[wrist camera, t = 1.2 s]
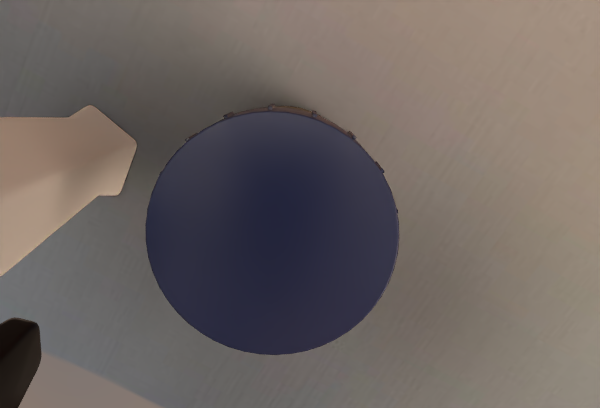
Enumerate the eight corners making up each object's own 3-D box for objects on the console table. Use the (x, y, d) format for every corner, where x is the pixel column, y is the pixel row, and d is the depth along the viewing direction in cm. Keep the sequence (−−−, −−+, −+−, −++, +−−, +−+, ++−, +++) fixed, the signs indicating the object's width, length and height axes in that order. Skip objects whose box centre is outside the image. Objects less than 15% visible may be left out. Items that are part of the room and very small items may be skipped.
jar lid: (319, 362, 17) (321, 396, 15) (123, 261, 16) (99, 285, 15) (434, 178, 16) (452, 191, 14) (225, 60, 15) (215, 57, 13)
